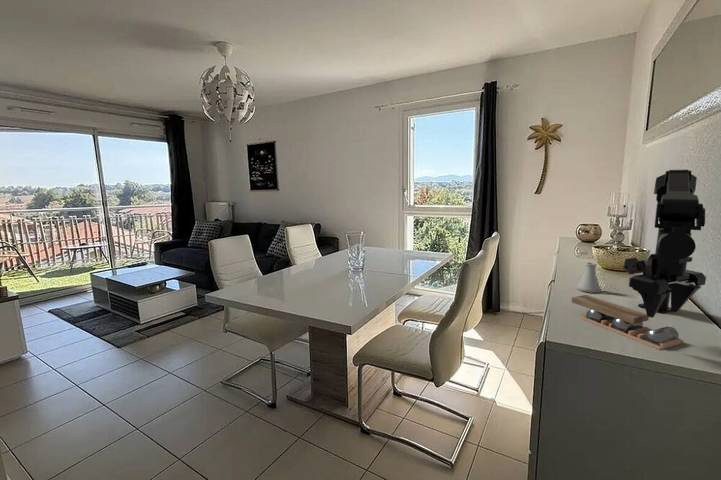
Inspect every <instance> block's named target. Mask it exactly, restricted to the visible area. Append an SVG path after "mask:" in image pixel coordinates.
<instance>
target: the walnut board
mask: <svg viewBox="0 0 721 480" xmlns="http://www.w3.org/2000/svg"><path fill="white" fill-rule="evenodd" d="M571 304H574V305H578V306H581V307H584V308H586V309H589V310H595V311H597V312H600V313H603V314H606V315H609V316H612V317H614V318H617V319H620V320H623V321H626V322H629V323H632V324H636V323H640V322H643V323H644V322H648V321H649V318H650V317H648V316H647V313H646V312H642V311H640V310H636V309H633V308H629V307H626V306H623V305H619V304H617V303H614V302H611V301H607V300H605V299H602V298H598V297H595V296H591V295H588V294H583V295H578V296H572V297H571Z"/></svg>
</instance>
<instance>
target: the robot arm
mask: <svg viewBox="0 0 721 480" xmlns="http://www.w3.org/2000/svg"><path fill="white" fill-rule="evenodd" d="M697 179H698V178H697V176H696V175H694V174H692V170H689V169H669V170H666V171H665V173H663V174H662V175H660V176H657V177H655V181H654V190H653V195H655V196H656V198H655V199H656V209H655V218H654V228H656V229H658V232H657V238H656V244H655V250H654V251H655V252H654V253H651V254H650V255H649V256H648V259H644V260H639V259H638V258H637V257H630V258H625V260H624V264H623V267H622V268H623V269H624V270H625V271H626V272H628V275H633V276H631V277H629V279H628V287H629V288H632V290H633V291H636V292H638V294H639V295H640V296H641V299H642V301H643V302H642V303H639V304H637V306H638V307H640V308H643V309H645V313H646V314H647V316H648V317H649V318H650V319H652V318H654V317H655V316H656V314H657V313H661V314H662V313H663V314H664V313H668V312H674V313H678V312H679V311H680V310H681V308H682V307H683V306H685V304H686V303H687V302H688V301H689V300H690V298H691V297H693V296H694V295H695V294H696V293H697V291H698V290H700V289H701V288H702V286H705V285H706V281H707V276H706V275H705V274H704V273H703V272H700V271H694V270H689V269H687V266H688V263H690V262H693V257H692V255H693V253H695V251H696V249H697V248H696V246H697V245H696V243H695V240H694V239H693V237H692V232H691V231H701V230H702V228H703V227H705V225H706V208H705V207H704V204H703V203H700V200H699V196H698V195H697V194H695V192H696V190H697V189H696V187H697ZM640 273H642V274H640ZM634 274H638V275H634ZM669 305H670V306H669Z"/></svg>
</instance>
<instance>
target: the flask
mask: <svg viewBox="0 0 721 480" xmlns="http://www.w3.org/2000/svg"><path fill="white" fill-rule="evenodd" d="M585 265H586V267H585V271H584V273H583V276H582V277H581V279H580V281H579V283H578V285H577V286H576V290H579V291H581V292H584V293H585V292H586V293H589V294H593V293H600V292H601V291H602V290H601V286H600V283H599V280H598V276H597V273H596V267H597V263H595V262H585Z"/></svg>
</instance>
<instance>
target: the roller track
mask: <svg viewBox="0 0 721 480" xmlns="http://www.w3.org/2000/svg"><path fill="white" fill-rule="evenodd" d="M580 319H581V320H583V321H585V322H587V323H590V324H592V325H595V326H598V327H600V328H603V329H605V330H609V331H610V332H612V333H616V334H618V335H620V336H623V337H626V338H629V339H631V340H634V341H636V342H638V343H641V344H644V345H646V346H648V347H651V348H654V349H656V350H660V351H661V350H662V349H667V348H671V347H674V346H678V345H681V344H684V342H685V341H684V339H681V338H677V339H673V340H670V341H666V342H662V343H660V345H658V346H657V345H655V344H652V343H650V342H647V341H645V339H644V334H645V333H646V332H647V331H651V330H653V329H652V328H650V327H648V326H644V325H643V326H642V327H641V328H639V329H634V330H630V331H627V332H621V331H619V330H616V329H613V328H612V326H611V322H612V321H613V320H615V319H617V318H612V319H607V320H603V321H600V322H595V321H593V320H590V319H587V317H586V313H584V314H583V316H581V317H580Z"/></svg>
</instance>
